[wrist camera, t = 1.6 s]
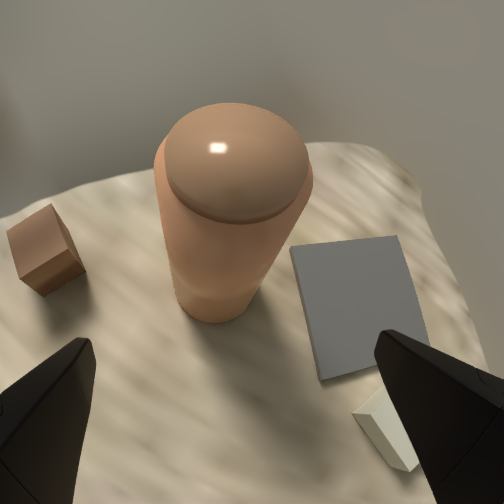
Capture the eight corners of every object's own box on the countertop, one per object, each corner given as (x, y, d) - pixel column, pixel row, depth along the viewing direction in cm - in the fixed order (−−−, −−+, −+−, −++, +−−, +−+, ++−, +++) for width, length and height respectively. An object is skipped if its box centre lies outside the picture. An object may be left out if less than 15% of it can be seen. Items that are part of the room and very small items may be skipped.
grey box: (421, 432, 20) (445, 433, 18) (388, 466, 19) (410, 472, 16) (387, 379, 22) (409, 376, 19) (350, 413, 20) (370, 414, 18)
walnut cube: (86, 271, 21) (68, 248, 18) (43, 297, 20) (19, 278, 16) (68, 230, 22) (51, 203, 19) (28, 254, 21) (6, 231, 17)
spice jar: (260, 317, 22) (341, 216, 10) (179, 328, 21) (154, 232, 9) (246, 244, 24) (295, 97, 12) (170, 252, 23) (152, 100, 11)
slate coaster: (425, 347, 23) (430, 346, 23) (319, 380, 21) (322, 380, 20) (393, 238, 27) (396, 235, 26) (289, 249, 25) (291, 246, 24)
